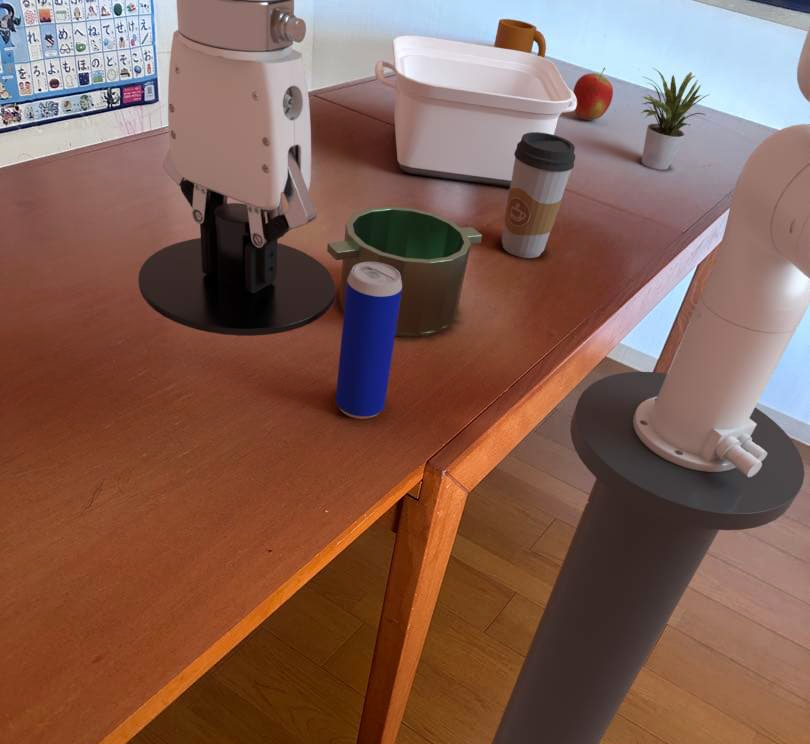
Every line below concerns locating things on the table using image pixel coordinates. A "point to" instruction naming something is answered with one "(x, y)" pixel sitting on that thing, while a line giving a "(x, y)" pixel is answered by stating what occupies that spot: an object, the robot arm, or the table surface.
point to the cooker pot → (411, 262)
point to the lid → (234, 284)
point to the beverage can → (367, 338)
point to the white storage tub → (469, 106)
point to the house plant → (667, 123)
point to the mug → (519, 36)
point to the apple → (592, 96)
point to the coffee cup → (536, 192)
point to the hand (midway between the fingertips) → (238, 275)
